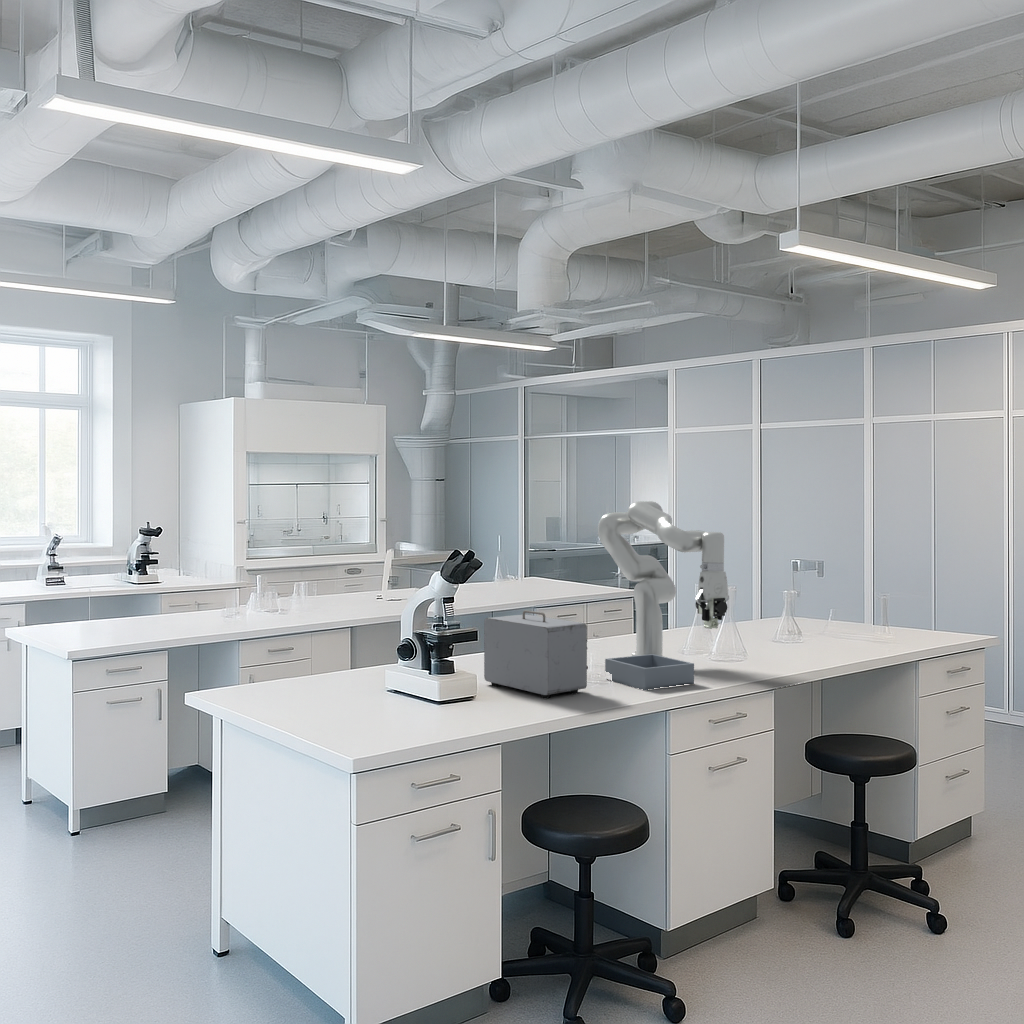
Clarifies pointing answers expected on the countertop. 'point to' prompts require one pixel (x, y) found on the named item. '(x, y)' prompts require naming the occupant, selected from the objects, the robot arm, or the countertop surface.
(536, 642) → the vintage electronic device
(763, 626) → the countertop surface
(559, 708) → the countertop surface
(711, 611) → the pneumatic valve
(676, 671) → the parts bin
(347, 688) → the countertop surface
